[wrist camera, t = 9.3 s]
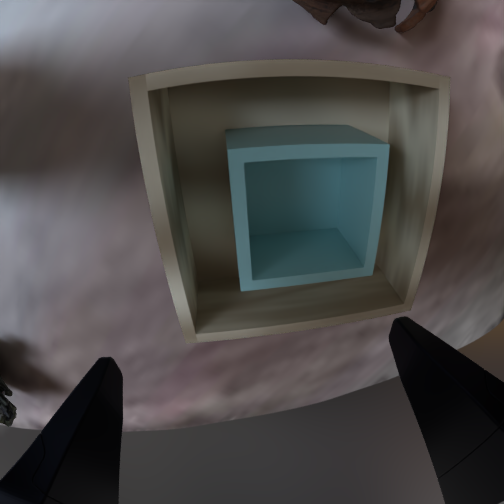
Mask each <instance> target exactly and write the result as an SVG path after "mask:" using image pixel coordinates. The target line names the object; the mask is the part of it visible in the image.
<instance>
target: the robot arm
mask: <svg viewBox="0 0 504 504" xmlns="http://www.w3.org/2000/svg"><path fill="white" fill-rule="evenodd" d="M389 343H390V346H391V349H392V352H393V356H394V359H395V362H396V365H397V369H398V372H399V376H400V379H401V381H402V384H403V387H404V389H405V391H406V394H407V396H408V399H409V401H410V403H411V406H412V409H413V411H414V414H415V416H416V419H417V422H418V424H419V427H420V429H421V432H422V435H423V438H424V440H425V443H426V446H427V449H428V452H429V454H430V457H431V460H432V463H433V466H434V469H435V472H436V475H437V478H438V482H439V485H440V488H441V491H442V494H443V498H444V501H445V504H504V382H502V381H501V380H499V379H498V378H496V377H495V376H493V375H492V374H491V373H489V372H488V371H486V370H484V369H483V368H482V367H480V366H479V365H478V364H476V363H475V362H473V361H472V360H470V359H469V358H467V357H466V356H465V355H463V354H461V353H460V352H459V351H457V350H456V349H454V348H453V347H451V346H450V345H448V344H447V343H446V342H444V341H443V340H441V339H440V338H438V337H437V336H435V335H434V334H432V333H431V332H429V331H428V330H426V329H425V328H423V327H422V326H420V325H419V324H417V323H416V322H414V321H413V320H411V319H410V318H408V317H406V316H404V317H399V318H396V319H395V320H394V321H393V324H392V327H391V331H390V334H389ZM122 425H123V376H122V373H121V371H120V369H119V367H118V366H117V364H116V362H115V361H114V359H113V358H112V357H101V358H99V359H98V360H97V361H96V363H95V364H94V365H93V366H92V368H91V369H90V370H89V371H88V372H87V374H86V375H85V376H84V377H83V379H82V380H81V381H80V382H79V384H78V385H77V386H76V387H75V389H74V390H73V391H72V392H71V394H70V395H69V396H68V398H67V399H66V400H65V401H64V403H63V404H62V405H61V406H60V408H59V409H58V410H57V412H56V413H55V414H54V416H53V417H52V418H51V419H50V421H49V422H48V423H47V425H46V426H45V427H44V429H43V430H42V431H41V434H39V435H38V436H37V438H36V439H35V441H34V442H33V443H32V444H31V446H30V447H29V448H28V450H27V451H26V452H25V453H24V454H23V455H22V457H21V458H20V459H19V460H18V461H17V462H16V463H15V465H14V466H13V467H12V468H11V469H10V470H9V471H8V472H7V473H6V475H5V476H4V477H3V478H2V479H1V480H0V504H118V503H119V501H118V499H119V497H118V496H119V469H120V451H121V436H122Z"/></svg>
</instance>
